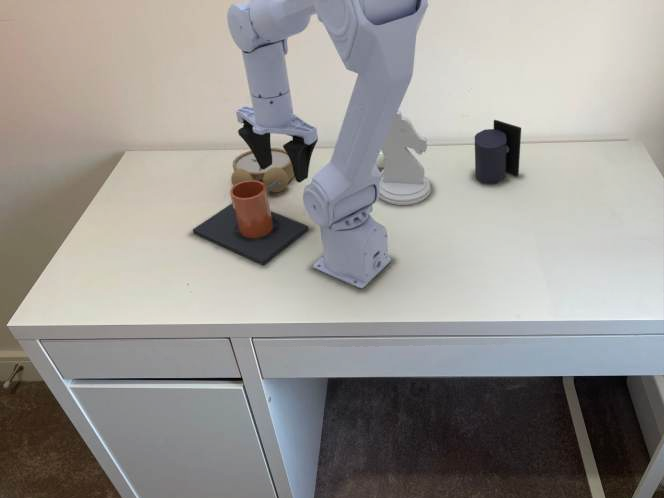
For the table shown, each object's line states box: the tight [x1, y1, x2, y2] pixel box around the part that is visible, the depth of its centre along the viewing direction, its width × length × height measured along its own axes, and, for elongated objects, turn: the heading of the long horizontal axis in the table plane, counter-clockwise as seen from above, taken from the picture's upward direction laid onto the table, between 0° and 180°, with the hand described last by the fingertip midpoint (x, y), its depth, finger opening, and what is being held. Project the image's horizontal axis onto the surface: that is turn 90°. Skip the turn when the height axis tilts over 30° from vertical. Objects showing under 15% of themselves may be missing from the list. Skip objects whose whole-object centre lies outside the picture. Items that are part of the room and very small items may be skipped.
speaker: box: [474, 119, 522, 185], centre depth 103 cm, size 8×6×10 cm
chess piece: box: [379, 110, 432, 206], centre depth 99 cm, size 10×10×15 cm
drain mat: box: [192, 203, 309, 266], centre depth 96 cm, size 16×11×1 cm
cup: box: [229, 180, 273, 238], centre depth 93 cm, size 6×6×8 cm
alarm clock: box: [230, 147, 295, 194], centre depth 107 cm, size 11×5×15 cm
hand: (284, 172), depth 92 cm, fingers open, 7 cm apart
